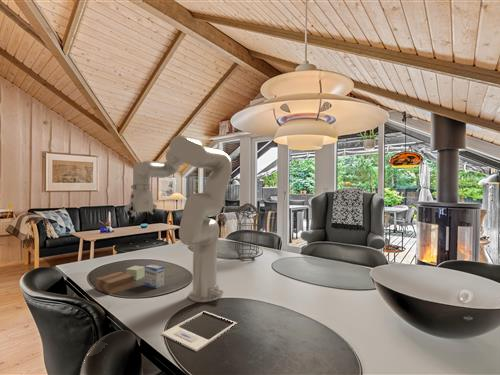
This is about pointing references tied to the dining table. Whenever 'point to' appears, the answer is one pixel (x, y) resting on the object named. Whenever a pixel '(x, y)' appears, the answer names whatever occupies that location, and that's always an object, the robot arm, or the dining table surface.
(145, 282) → the medicine box
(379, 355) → the dining table surface
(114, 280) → the walnut block
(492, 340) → the dining table surface
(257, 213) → the geometric lantern
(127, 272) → the sage block
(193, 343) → the photo frame
